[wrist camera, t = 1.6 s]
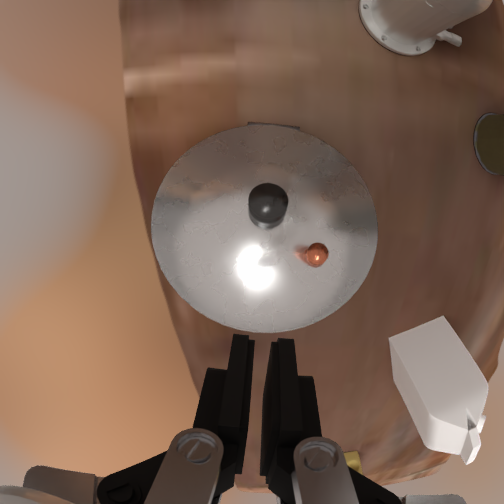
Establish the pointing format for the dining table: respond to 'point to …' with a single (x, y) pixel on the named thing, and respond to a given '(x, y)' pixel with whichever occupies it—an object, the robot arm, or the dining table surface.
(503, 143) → the canister
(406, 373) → the milk
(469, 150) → the dining table surface
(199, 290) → the lid
